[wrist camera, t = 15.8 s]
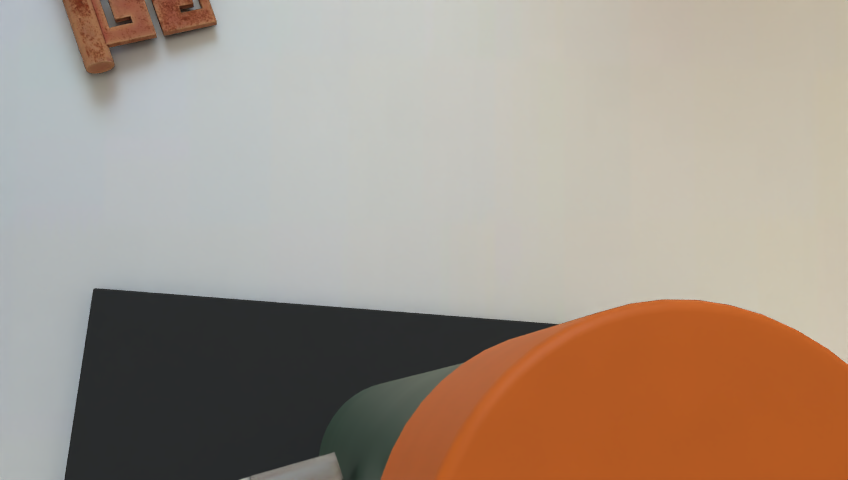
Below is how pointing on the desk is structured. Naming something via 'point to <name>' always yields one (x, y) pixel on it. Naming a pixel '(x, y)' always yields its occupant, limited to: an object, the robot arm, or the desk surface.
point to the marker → (612, 405)
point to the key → (128, 25)
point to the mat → (240, 379)
